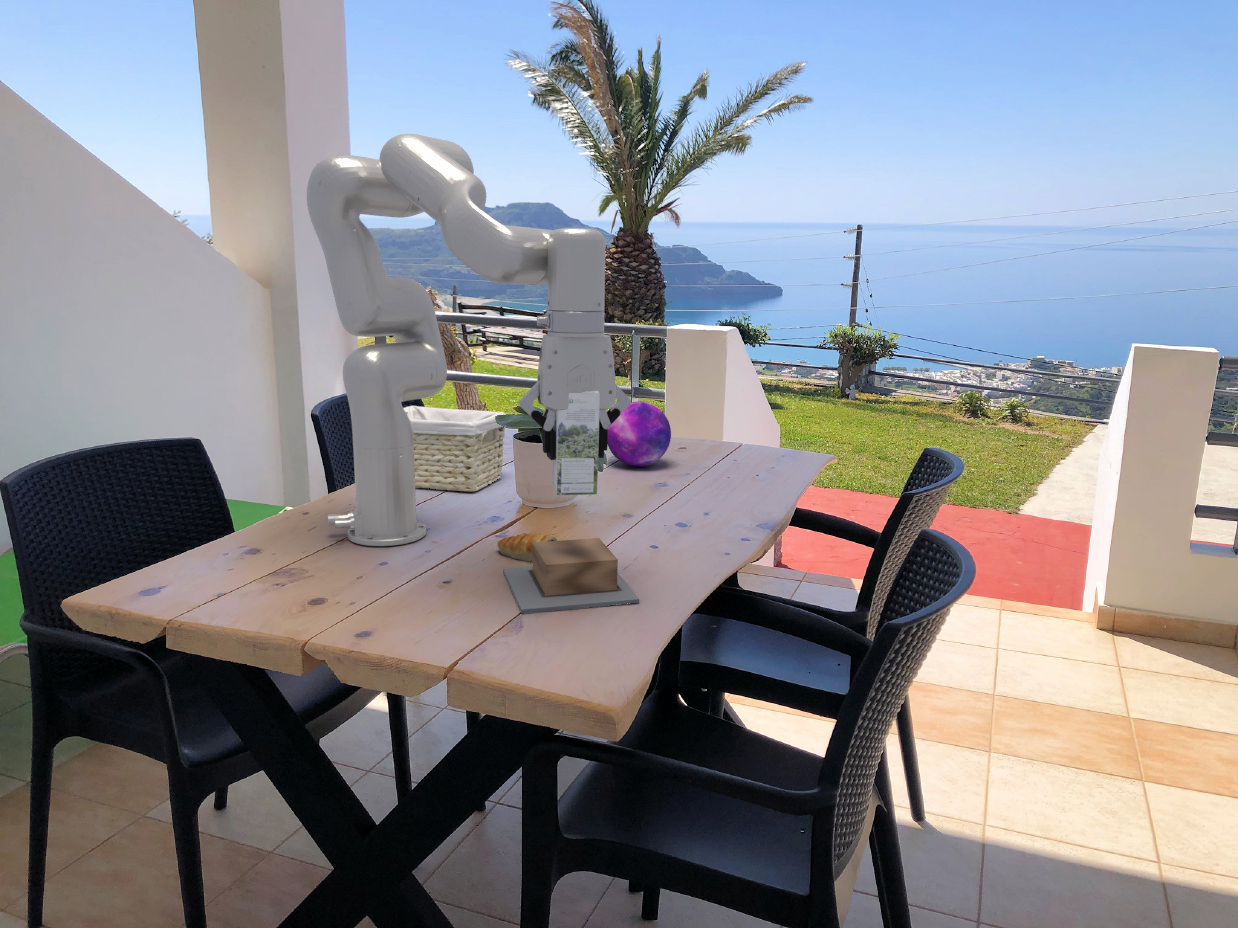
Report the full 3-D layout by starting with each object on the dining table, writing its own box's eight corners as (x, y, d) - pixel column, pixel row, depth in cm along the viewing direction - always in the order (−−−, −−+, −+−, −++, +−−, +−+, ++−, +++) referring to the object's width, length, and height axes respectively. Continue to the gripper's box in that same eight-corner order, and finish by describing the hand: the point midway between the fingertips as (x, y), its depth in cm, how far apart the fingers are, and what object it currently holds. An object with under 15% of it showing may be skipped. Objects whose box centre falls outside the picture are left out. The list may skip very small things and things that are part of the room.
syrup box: (592, 485, 121) (594, 383, 118) (598, 495, 115) (600, 389, 112) (552, 485, 120) (552, 383, 117) (556, 496, 114) (556, 389, 111)
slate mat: (521, 613, 110) (521, 609, 109) (503, 572, 125) (503, 568, 124) (639, 603, 114) (639, 598, 114) (607, 564, 129) (608, 560, 129)
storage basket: (370, 486, 174) (367, 415, 170) (410, 469, 189) (408, 404, 186) (476, 496, 167) (475, 423, 164) (509, 478, 182) (509, 411, 179)
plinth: (542, 601, 114) (542, 566, 113) (527, 573, 124) (527, 541, 123) (622, 595, 117) (623, 560, 116) (601, 568, 127) (601, 536, 126)
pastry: (489, 558, 132) (489, 534, 131) (508, 545, 138) (508, 523, 137) (545, 565, 129) (545, 541, 128) (562, 552, 135) (562, 529, 134)
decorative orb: (671, 474, 189) (673, 407, 186) (604, 472, 190) (605, 406, 186) (668, 459, 204) (670, 398, 201) (606, 458, 204) (607, 396, 201)
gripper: (516, 326, 107) (517, 465, 111) (646, 326, 111) (643, 460, 115) (507, 323, 114) (508, 454, 118) (629, 323, 118) (627, 449, 122)
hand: (575, 455), depth 116 cm, fingers closed on syrup box, 6 cm apart
